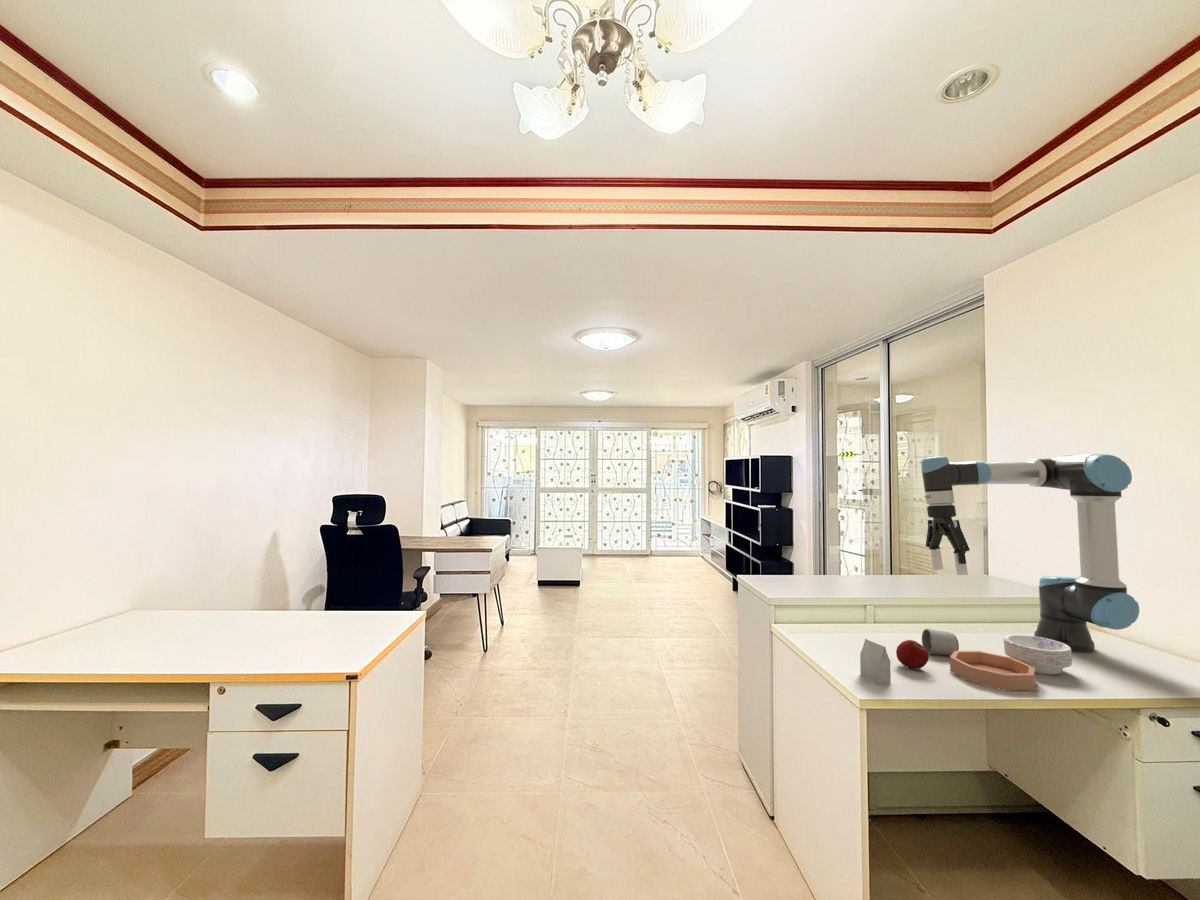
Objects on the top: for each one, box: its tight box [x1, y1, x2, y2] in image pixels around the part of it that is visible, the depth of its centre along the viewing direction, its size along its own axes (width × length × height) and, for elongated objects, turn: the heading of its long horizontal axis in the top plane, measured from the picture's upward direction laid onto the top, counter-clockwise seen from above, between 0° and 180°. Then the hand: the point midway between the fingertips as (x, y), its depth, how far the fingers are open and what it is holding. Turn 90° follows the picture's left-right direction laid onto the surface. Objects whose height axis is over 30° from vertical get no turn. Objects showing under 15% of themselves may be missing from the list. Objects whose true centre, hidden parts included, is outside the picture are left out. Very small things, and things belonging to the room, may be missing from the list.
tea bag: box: [859, 638, 892, 686], centre depth 138 cm, size 4×7×10 cm, turn 15°
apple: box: [895, 639, 930, 670], centre depth 146 cm, size 8×8×8 cm
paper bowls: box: [1003, 634, 1073, 675], centre depth 148 cm, size 15×15×8 cm
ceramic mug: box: [921, 628, 960, 657], centre depth 160 cm, size 11×8×8 cm
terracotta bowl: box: [949, 650, 1036, 691], centre depth 141 cm, size 18×18×4 cm
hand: (949, 572), depth 157 cm, fingers open, 13 cm apart
